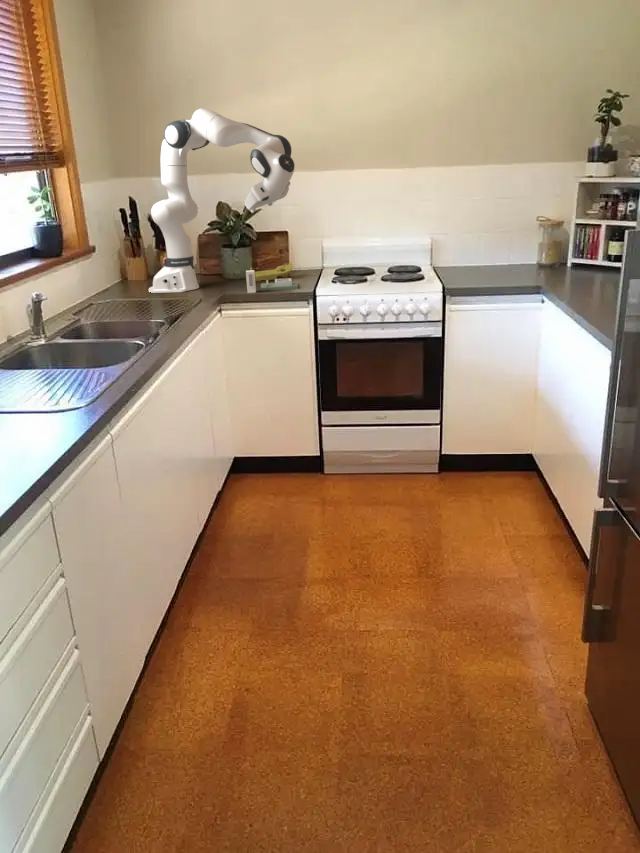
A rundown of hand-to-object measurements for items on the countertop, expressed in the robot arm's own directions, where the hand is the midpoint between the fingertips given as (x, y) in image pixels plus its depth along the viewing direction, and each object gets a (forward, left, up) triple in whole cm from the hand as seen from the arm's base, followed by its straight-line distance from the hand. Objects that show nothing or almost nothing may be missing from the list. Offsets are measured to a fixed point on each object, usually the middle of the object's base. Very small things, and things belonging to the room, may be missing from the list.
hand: (260, 207), depth 306 cm
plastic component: (+3, +29, -35) cm, 46 cm away
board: (+6, +5, -34) cm, 35 cm away
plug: (-6, -2, -35) cm, 35 cm away
